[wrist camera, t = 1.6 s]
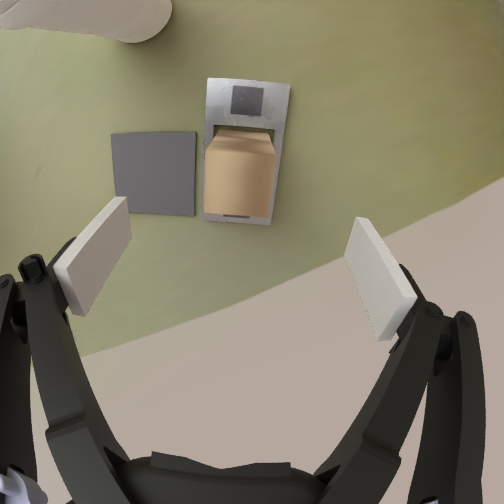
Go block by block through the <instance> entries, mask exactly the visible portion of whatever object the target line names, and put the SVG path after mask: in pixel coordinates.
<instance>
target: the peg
mask: <svg viewBox="0 0 504 504" xmlns="http://www.w3.org/2000/svg"><path fill="white" fill-rule="evenodd" d="M276 157H277V156H276V153H275V150H274V148H273V145H272V142H271V139H270V136H269V134H268V132H259V131H248V130H236V129H220V130H219V131H218V133H217V134H216V136H215V137H214V139H213V140H212V142H211V143H210V145H209V146H208V148H207V149H206V157H205V184H204V213H214V214H228V215H240V216H252V217H264V218H268V214H269V207H270V200H271V193H272V186H273V178H274V171H275V164H276Z"/></svg>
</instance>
